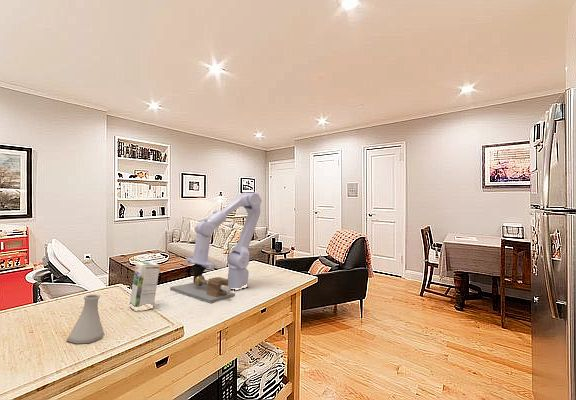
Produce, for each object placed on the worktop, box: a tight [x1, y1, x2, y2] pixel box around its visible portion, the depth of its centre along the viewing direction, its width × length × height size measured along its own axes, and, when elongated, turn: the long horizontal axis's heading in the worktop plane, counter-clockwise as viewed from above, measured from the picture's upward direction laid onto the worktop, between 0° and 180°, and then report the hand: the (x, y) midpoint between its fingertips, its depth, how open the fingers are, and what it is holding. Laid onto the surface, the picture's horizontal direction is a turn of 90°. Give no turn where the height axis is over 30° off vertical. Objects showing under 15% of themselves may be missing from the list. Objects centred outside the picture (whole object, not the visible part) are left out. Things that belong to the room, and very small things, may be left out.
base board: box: [169, 282, 236, 304], centre depth 116 cm, size 14×22×1 cm, turn 61°
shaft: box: [193, 274, 232, 292], centre depth 113 cm, size 4×17×4 cm, turn 61°
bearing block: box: [207, 276, 229, 297], centre depth 112 cm, size 6×5×6 cm
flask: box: [66, 293, 105, 344], centre depth 69 cm, size 7×7×10 cm
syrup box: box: [129, 260, 161, 307], centre depth 92 cm, size 6×6×14 cm
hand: (197, 283), depth 118 cm, fingers closed, pressing on shaft
